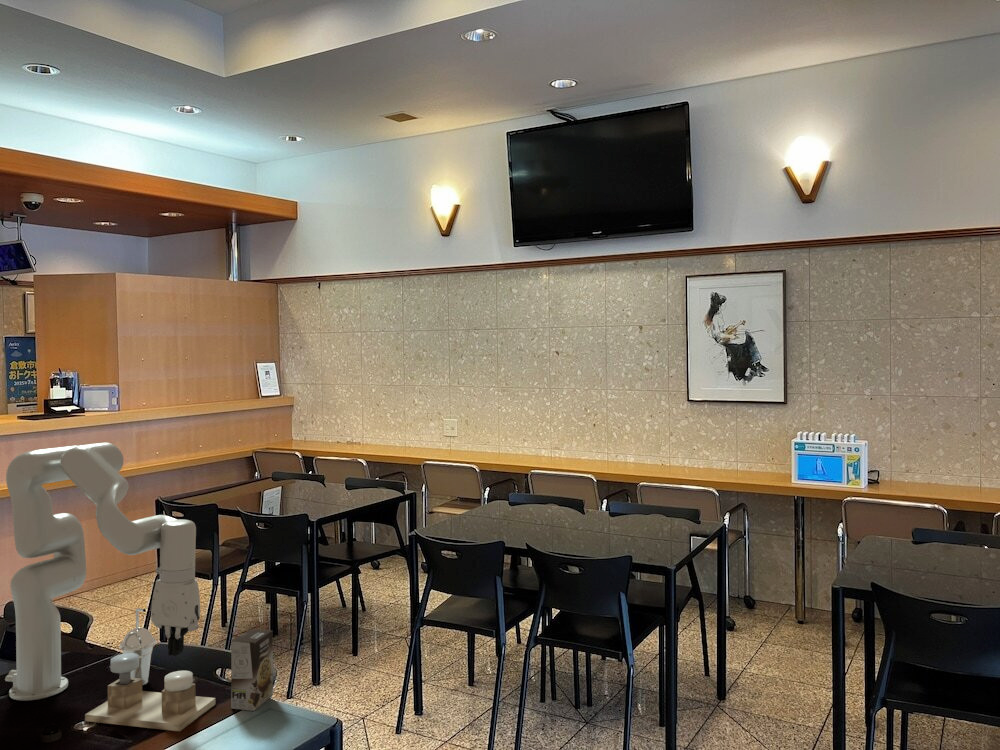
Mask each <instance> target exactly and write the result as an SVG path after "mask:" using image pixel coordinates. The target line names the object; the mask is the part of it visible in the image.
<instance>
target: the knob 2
mask: <svg viewBox="0 0 1000 750" xmlns="http://www.w3.org/2000/svg"><path fill="white" fill-rule="evenodd" d="M193 675H194V673H193V672H192V671H190V670H177V671H172V672H169V673H168V674H166V675H165V676H164V689H165V690H167V691H173V692H174V691H182V690H185V689H188V688H190V687H191V686H192V685H193V684H194V682H193V680H194V679H193Z"/></svg>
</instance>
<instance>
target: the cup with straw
mask: <svg viewBox="0 0 1000 750" xmlns="http://www.w3.org/2000/svg"><path fill="white" fill-rule="evenodd" d="M140 612H142V613H145V612H146V609H145V608H141V607H136V609H135V628H133V629H131V630H129V631H128V632H127V633H125V635H124V638H123V640H122V641H121V642H120V643H119V649H121V650H122V654H126V653H135V654H138V655H139V667H138V668H137V669H136V670H133V671H131V678H140V679H142V686H144V685H147V684H148V683H149V676H150V675H149V674H150V668H151V659H152V653H153V649H154V646H155V645H156V644H157V640H156V637H154V636H153V634H152V633H151V631H150V630H149V629H146V628H145V627H140V619H139V618H140Z"/></svg>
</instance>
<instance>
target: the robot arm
mask: <svg viewBox="0 0 1000 750" xmlns="http://www.w3.org/2000/svg"><path fill="white" fill-rule="evenodd" d="M124 459H125V458H124V455H123V453H122V451H121V450H120V448H119V447H118V446H116V445H115V444H113V443H111V442H99V443H98V442H97V443H96V442H95V443H89V444H79V445H68V446H59V447H58V446H57V447H51V448H41V449H40V448H39V449H34V450H30V451H29V450H28V451H26V452H23V453H21V454H19V455H16V457H14V458H13V459H12V460H11V461H10V462H9V465H8V466H7V470H6V474H5V481H6V486H7V490H8V491H7V492H8V494H9V497H10V501H11V509H12V523H13V524H12V525H13V535H14V536H13V537H14V546H15V549H16V552H17V554H18V556H20V557H21V558H24V559H37V558H39V557H40V558H41V557H44V556H48V555H53V558H50V559H46V560H45V559H44V560H41V561H38V562H34V563H30V564H28V565H26V566H23V567H21V568H20V569H18V570H17V571H16V572H15V573H14V574H13V576H12V578H11V580H10V591H11V596H12V601H13V604H14V605H13V606H14V611H15V613H14V614H15V636H16V637H15V638H16V639H15V640H16V641H15V647H16V648H15V650H16V653H15V654H16V655H15V657H16V658H15V659H16V665H15V666H16V669H11V670H9V672H8V674H7V675H6V676H5V678H4V680H5V682H9V683H10V682H11V683H12V687H11V688H10V689H9V691H8V696H9V697H10V698H11V699H12V700H14V701H15V700H16V701H23V702H24V701H36V700H41V699H42V700H43V699H46V698H49V697H51V696H52V697H53V696H56V695H57V694H59V693H62V692H64V690H66V689H67V688H68V686H69V679H68V678H67V677H65V676H62V639H61V638H62V635H61V634H62V632H61V631H62V629H61V626H62V625H61V614H60V611H59V609H58V607H57V606H56V604H55V603H54V602H53V599H55V598H57V597H60V596H63V595H66V594H68V593H71V592H74V591H76V590H78V589H80V588H81V587H82V586H83V584H84V583H85V581H86V577H87V559H86V558H87V557H86V546H85V533H84V528H83V525H82V523H81V522H80V520H79V519H78V518H77V516H76V515H73V514H72V513H68V512H60V513H59V512H58V513H55V514H54V509H53V500H52V497H51V495H50V493H49V492H48V491H47V490H46V488H45V487H44V486H43V485H46V484H52V483H59V482H64V481H71V482H72V483H73V484H74V485H75V486H76V487H77V488H78V489H79V490H80V491H81V492H82V493H84V495H85V496H86V497H87V498H88V499H89V500H90V501H91V502H93V504H94V505H95V506H96V507H95V508H96V509H95V519H96V524H97V526H98V527H97V528H98V529H99V531H100V533H101V535H102V536H103V537H104V538H105V539H106V540H107V541H108V542H109V543H110V544H111V545H112V546H113V547H114V548H115V549H116V550H117V551H118V552H120V553H122V554H125V555H127V556H136V555H139V554H143V553H146V552H149V551H153V550H157V549H159V555H160V556H159V567H156V569H155V573H156V574H158V575H159V579H156V581H155V585H154V587H153V592H152V593H153V594H152V600H151V609H150V611H151V612H150V621H151V622H152V624H153V625H154V627H156V628H159V629H161V630H162V631H163V633H164V634H165V637H166V638H167V649H168V656H172V657H176V656H177V655H178V656H179V654H182V653H183V651H184V649H185V648H184V647H185V645H184V644H185V636H186V635H187V634H188V633H189V632H190V633H191V632H195V631H196V630H199V628H200V627H199V621H200V617H201V598H200V597H201V596H200V588H199V584H198V583H199V582H198V580H197V579H196V578H195V577H196V549H197V548H196V547H197V546H196V543H197V542H196V541H197V540H196V539H197V538H196V537H197V526H196V524H195V522H194V521H192V520H189V519H177V518H174V517H172V516H169V515H165V514H158V515H157V514H156V515H152V516H147V517H144V518H143V517H142V518H139V519H135V520H130V519H129V518H128V517H127V516H126V515H125V514H124V513H123V512H122V511H121V510H120V508H119V506H118V504H120V502H121V501H122V500H123V499H124V497H125V496H126V495H127V493H128V491H129V487H130V485H129V482H128V480H127V479H126V478H125V477H124V476H123V475H121V473H120V471H121V470H122V468H123V467H124V461H125V460H124Z"/></svg>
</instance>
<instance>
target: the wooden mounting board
mask: <svg viewBox="0 0 1000 750" xmlns="http://www.w3.org/2000/svg"><path fill="white" fill-rule="evenodd" d="M215 705H216V697H209V696H197V695H196V683H193V685H192V686H191V687H190V688H188V689H185V690H182V691H174V692H173V691H167V690H165V688H163V689H162V690H161V692H159V691H158V692H157V691H146V690H143V685H142V679H140V678H131V683H130V684H128V685H119V678H118V679H117V680H115V681H113V682H111V683H110V684H108V685H107V700H106V701H105V702H103V703H102V704H100V705H98V706H97V707H95V708H93V709H91V710H90V711H88V712H87V713H85V714H84V721H85V722H92V723H99V724H100V723H101V724H109V725H119V726H128V727H134V728H135V727H138V728H145V729H146V728H147V729H155V730H163V731H173V732H181V731H182V730H184V729H185V728H186V727H188V726H189V725H190V724H192V723H193V722H195V720H197V719H198V718H199V717H201V716H202V715H203V714H205V713H206V712H208V711H209V710H210V709H211V708H213V707H214V706H215Z"/></svg>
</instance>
